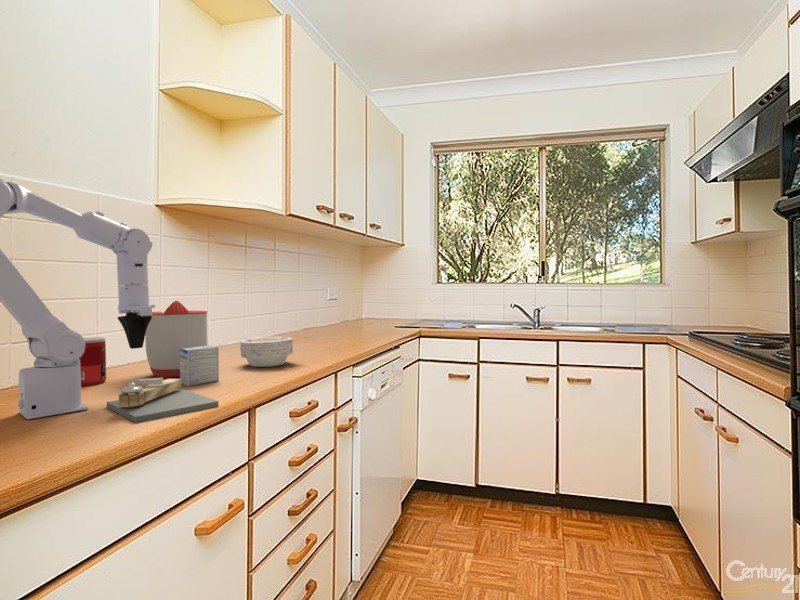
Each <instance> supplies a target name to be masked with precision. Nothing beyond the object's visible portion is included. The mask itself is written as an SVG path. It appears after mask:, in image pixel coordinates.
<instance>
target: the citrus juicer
mask: <svg viewBox="0 0 800 600" xmlns="http://www.w3.org/2000/svg"><path fill="white" fill-rule="evenodd" d="M208 313H209V312H208V310H188V309H187V308H186V307H185V306H184V305H183V304H182V303H181V302H180V301H178V300H175V301H174V300H173V302H172V303H170V305H169V306H168V307H167V308H165V310H164V312H163V311H152V315H151V316H152V319H151V321H150V322H149V324H148V327H147V330H146V333H145V338H144V342H145V352H146V360H147V362H148V364H149V369H150V372H151V374H152V376H154V377H156V378H163V379H172V378H177V377H179V378H180V349H184V348H192V347H201V346H208Z"/></svg>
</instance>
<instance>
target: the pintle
mask: <svg viewBox="0 0 800 600" xmlns="http://www.w3.org/2000/svg"><path fill="white" fill-rule="evenodd" d="M140 391H142V386H135V383H133V382H127V386H125V387H124V386H123V387H121V388H120V394H122V393H128V395H134V394H135V392H140ZM133 407H136V406H133ZM133 407H128V408H133Z"/></svg>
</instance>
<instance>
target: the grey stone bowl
mask: <svg viewBox="0 0 800 600" xmlns="http://www.w3.org/2000/svg"><path fill="white" fill-rule="evenodd" d="M293 341H294V340H293V338H292V337H289V336H268V337H267V336H264V337H263V336H262V337H253V338H247V339H242V340H240V344H239V345H240V347H239V348H240V357H241V358H244V359H246V361H247V363H248V365H249V366H251V367H254V368H272V367H278V366H282V365H284V364H285V363H286V361H287V358H288V356H290V355H293V353H294V351H293V350H294V346H293Z"/></svg>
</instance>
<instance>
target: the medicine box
mask: <svg viewBox="0 0 800 600" xmlns="http://www.w3.org/2000/svg"><path fill="white" fill-rule="evenodd" d="M219 357H220V356H219V347H217V346H214V345H207V346H201V347H192V348H184V349H180V376H179V379H182V386H187V387H189V386H195V385H200V384H202V385H203V384H206V383H212V382H218V381H219V380H220V375H219V374H220V371H219V368H220V365H219V362H220V361H219Z"/></svg>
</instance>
